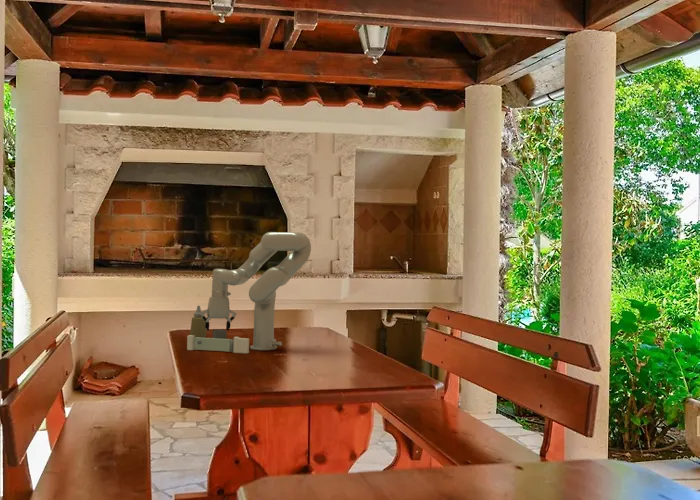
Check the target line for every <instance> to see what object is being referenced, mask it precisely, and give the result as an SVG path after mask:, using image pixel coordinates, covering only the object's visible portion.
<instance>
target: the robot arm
mask: <svg viewBox="0 0 700 500" xmlns="http://www.w3.org/2000/svg"><path fill="white" fill-rule="evenodd" d="M279 251H281V252H282V251H283V252H284V251H285V252H290V253H289V254H287V256H286V257H285V258H284V259H283V260H282V261H281V262H280V263H279V264H278V265H276V266H272V267H269V268H268V269H267V270H266V271H264V273H263V274H262V275H261V276H260V277H259V278H258V279H257V280H256V281H255V282H254V283H253V284H252V285H251V286H250V288H249V290H248V298H249V299H250V301H251V302H253V303H254V307H253V308H254V309H253V344H252V345H249V350H254V351H274V350H276V349H278V347H282V345H283V342H282V341H277V339H276V338H275V334H274V333H275V307H276V306H275V305H276V304H275V303H276V296H277V292H276V291H277V290H278V289H279V288H280V287H282V286H285V285H287V283H288V282H289V281H290V280H291V279H292V278H293V277H294V276H295V274H297V272H298V271H300V269H301V268H302V267H303V266H304V265H305V263H306V262H307V261H308V259H309V258H310V255H311V251H312V244H311V241H310V239H309V237H308V236H307V235H306V234H304V233H302V232H276V231H269V232H266V233H264V234H263V235H262V237H261V239H260V242H259V243H258V244H257V245H256V246H255V247H253V249H251V251H250V252H249V255H248V258H247V259H246V261H244V263H243V264H242V265H241V266H239V267H238V268H237V269H226V268H214V269H213V270H212V282H211V284H212V285H211V296H209V299H208V303H207V308H206V309H205V310H203V311H202V310H201V312H200V314H201V316H202V318H203V319H204V320H205V328H206V331H209V330H210V320H211V319H226V324H225V326H226V328H225V330H226V332H227V331H230V329H231V323H232V321H234V319H235V318H236V316H237V312H235V311H233V310H231V308H230V298H229V297H228V296H231V292H230V291H229V286H239V285H244V284H245V283H247V282H248V281H249V280H250V279H251V278H252V277H253V276H254V275H256V273H257V272H258V271H259V270H260V269H261V268H262V267H263V265H264V264H265V263H266V262H267V261H268V260H270V258H271V257H273V256H274V255H275V254H277V252H279ZM205 314H206V316H207V317H206V316H205ZM230 314H231V316H230Z"/></svg>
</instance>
